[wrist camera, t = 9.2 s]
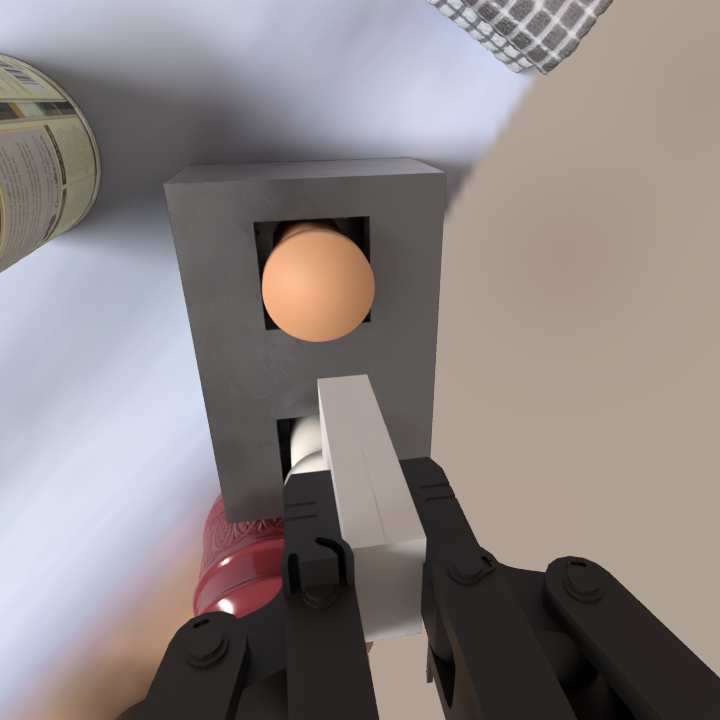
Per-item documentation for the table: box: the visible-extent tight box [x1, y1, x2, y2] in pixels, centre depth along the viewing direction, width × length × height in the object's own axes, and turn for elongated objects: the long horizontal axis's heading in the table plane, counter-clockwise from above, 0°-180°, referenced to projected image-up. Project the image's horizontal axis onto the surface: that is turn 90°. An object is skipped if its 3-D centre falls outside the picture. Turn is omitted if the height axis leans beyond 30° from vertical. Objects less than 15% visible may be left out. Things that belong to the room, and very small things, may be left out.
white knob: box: [284, 415, 325, 486], centre depth 33 cm, size 6×6×9 cm
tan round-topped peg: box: [262, 218, 375, 342], centre depth 29 cm, size 6×6×9 cm
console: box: [163, 157, 446, 524], centre depth 34 cm, size 22×14×8 cm, turn 1°
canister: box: [193, 493, 374, 660], centre depth 38 cm, size 13×13×18 cm
